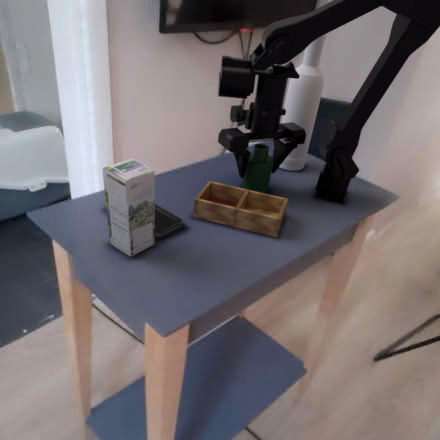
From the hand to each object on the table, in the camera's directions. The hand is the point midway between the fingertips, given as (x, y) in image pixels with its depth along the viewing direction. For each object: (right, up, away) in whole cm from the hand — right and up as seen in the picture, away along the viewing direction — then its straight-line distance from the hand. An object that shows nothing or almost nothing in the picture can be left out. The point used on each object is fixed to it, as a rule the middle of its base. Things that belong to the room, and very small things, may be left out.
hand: (257, 175), depth 88 cm
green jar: (0, -3, +2) cm, 4 cm away
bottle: (+10, +7, +15) cm, 19 cm away
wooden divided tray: (-4, -11, -7) cm, 13 cm away
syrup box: (-24, -18, -18) cm, 35 cm away
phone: (-23, -12, -11) cm, 28 cm away
